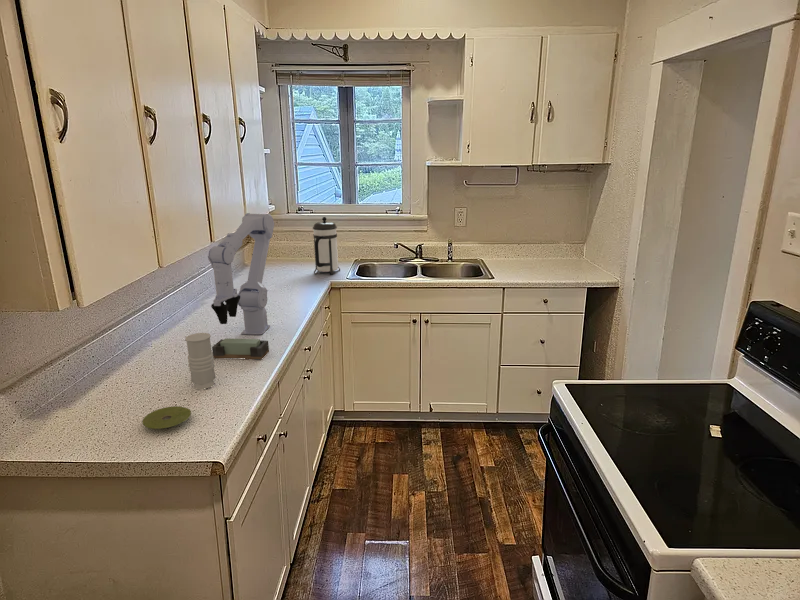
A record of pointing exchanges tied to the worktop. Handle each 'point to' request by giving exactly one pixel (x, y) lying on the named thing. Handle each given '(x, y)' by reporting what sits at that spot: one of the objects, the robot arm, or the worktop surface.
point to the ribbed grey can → (200, 360)
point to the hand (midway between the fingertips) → (228, 320)
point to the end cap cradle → (254, 351)
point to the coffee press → (325, 246)
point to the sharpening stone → (239, 345)
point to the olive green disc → (166, 417)
